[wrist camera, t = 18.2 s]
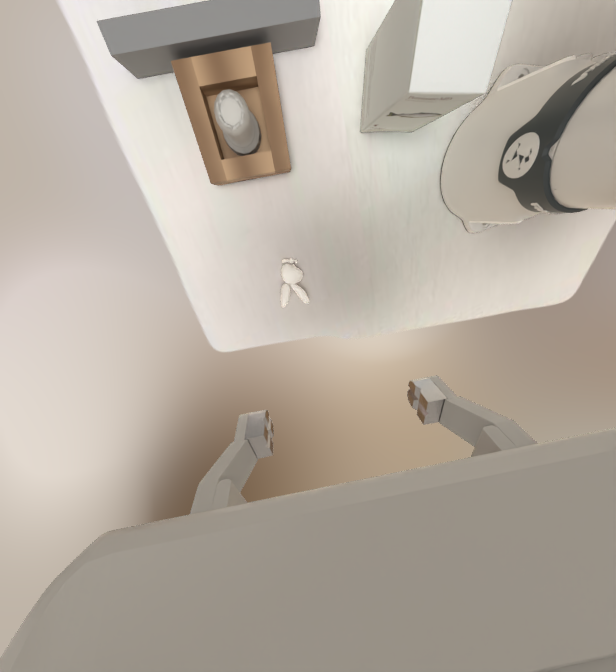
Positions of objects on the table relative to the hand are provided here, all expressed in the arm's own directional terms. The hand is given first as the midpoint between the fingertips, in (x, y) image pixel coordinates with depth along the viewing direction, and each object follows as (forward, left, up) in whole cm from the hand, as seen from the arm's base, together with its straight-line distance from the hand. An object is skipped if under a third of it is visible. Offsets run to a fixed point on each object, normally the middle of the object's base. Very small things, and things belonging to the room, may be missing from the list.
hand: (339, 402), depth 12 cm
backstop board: (+4, -25, -29) cm, 39 cm away
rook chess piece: (+4, -18, -28) cm, 33 cm away
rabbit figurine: (+2, +2, -29) cm, 30 cm away
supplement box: (-15, -19, -29) cm, 38 cm away
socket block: (+4, -18, -29) cm, 35 cm away
